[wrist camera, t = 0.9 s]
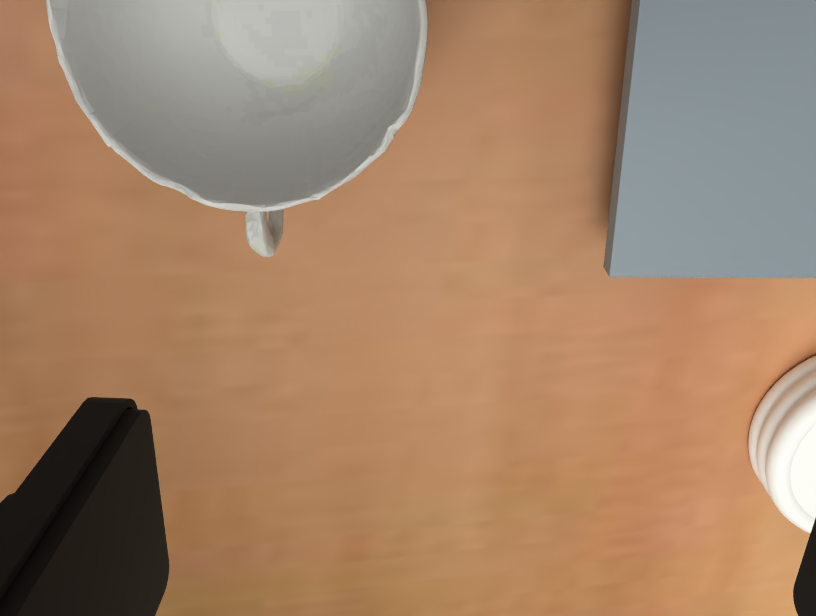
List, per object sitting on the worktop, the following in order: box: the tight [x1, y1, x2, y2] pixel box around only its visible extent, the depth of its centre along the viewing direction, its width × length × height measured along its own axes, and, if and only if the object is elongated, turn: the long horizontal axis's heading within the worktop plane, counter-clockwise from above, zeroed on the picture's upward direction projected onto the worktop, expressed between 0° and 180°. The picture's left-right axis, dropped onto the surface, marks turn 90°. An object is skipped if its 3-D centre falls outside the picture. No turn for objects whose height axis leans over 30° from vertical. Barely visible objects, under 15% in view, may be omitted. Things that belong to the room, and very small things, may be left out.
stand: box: [604, 0, 816, 278], centre depth 31 cm, size 14×12×4 cm
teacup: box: [46, 0, 428, 257], centre depth 29 cm, size 15×12×8 cm
